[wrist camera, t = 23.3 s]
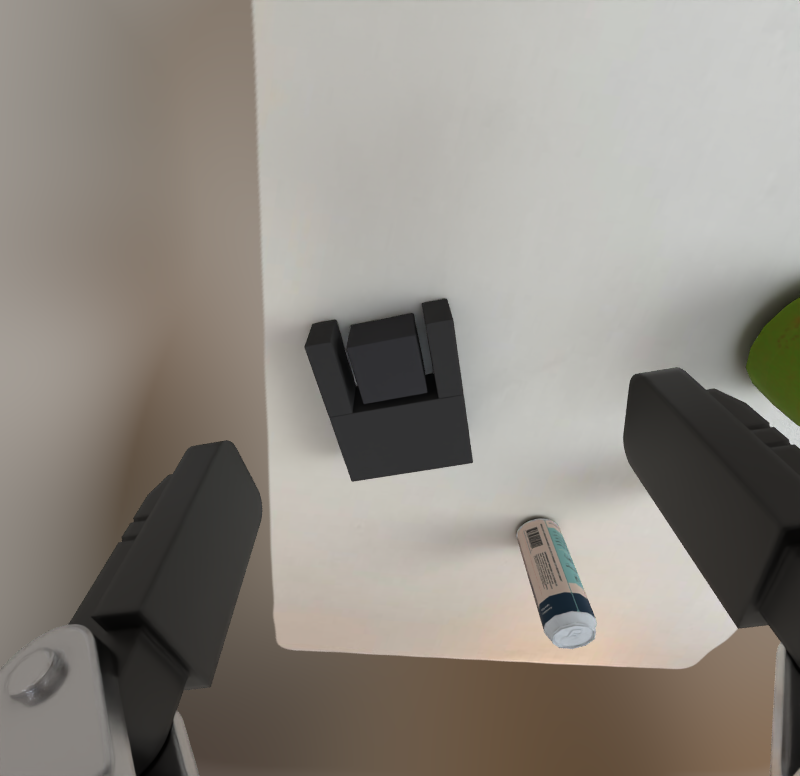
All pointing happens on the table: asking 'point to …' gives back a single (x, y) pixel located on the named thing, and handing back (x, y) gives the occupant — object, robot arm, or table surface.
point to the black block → (387, 358)
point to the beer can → (556, 585)
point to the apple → (779, 361)
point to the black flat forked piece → (395, 406)
